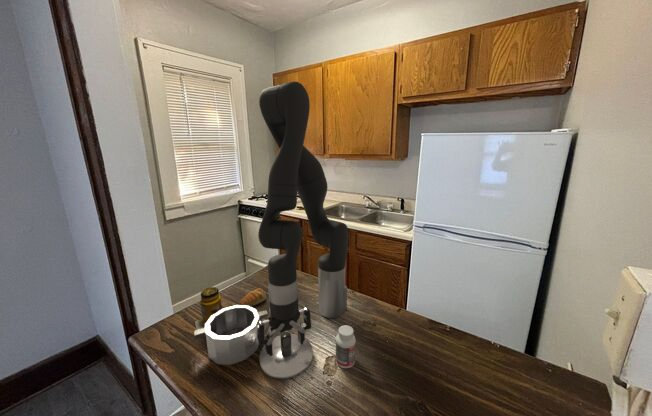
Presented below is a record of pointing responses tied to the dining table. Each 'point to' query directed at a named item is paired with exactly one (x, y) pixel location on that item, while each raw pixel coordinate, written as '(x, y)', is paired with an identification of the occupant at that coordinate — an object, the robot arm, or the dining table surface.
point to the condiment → (209, 305)
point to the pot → (231, 334)
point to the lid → (286, 357)
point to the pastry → (253, 297)
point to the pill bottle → (345, 347)
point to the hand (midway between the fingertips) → (285, 348)
